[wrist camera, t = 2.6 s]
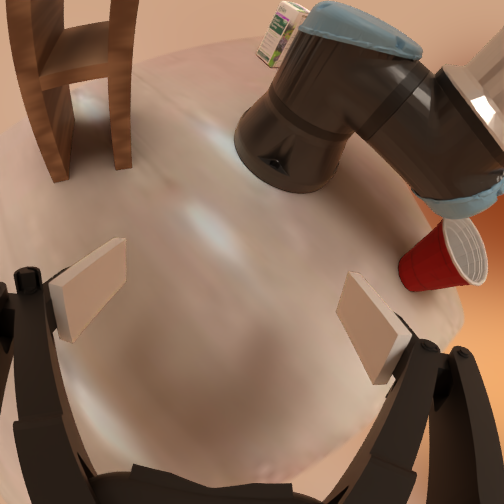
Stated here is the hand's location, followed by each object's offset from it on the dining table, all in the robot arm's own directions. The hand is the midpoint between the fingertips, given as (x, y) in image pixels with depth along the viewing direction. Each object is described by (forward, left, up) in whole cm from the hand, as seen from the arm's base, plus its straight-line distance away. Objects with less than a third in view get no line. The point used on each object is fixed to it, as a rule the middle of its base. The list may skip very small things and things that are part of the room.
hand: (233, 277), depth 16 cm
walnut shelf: (+9, -23, -12) cm, 28 cm away
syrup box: (-25, -45, -12) cm, 53 cm away
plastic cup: (-31, +3, -12) cm, 33 cm away
